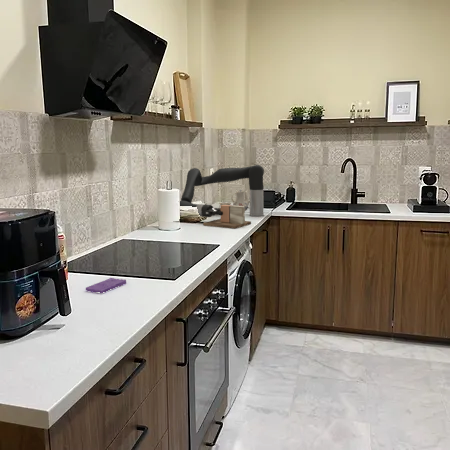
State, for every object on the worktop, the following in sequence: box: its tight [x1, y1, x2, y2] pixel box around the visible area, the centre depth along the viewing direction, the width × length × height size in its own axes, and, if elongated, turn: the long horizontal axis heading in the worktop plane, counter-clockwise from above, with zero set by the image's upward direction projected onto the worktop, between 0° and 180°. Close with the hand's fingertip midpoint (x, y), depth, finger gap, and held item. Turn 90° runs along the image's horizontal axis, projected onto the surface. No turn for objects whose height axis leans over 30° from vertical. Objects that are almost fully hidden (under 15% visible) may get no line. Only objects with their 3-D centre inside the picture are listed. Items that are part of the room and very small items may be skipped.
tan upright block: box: [220, 204, 233, 223], centre depth 273 cm, size 4×6×10 cm, turn 57°
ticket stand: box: [203, 204, 252, 230], centre depth 273 cm, size 18×22×12 cm
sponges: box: [85, 277, 127, 294], centre depth 157 cm, size 7×13×2 cm, turn 153°
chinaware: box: [218, 187, 250, 211], centre depth 334 cm, size 28×17×17 cm, turn 131°
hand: (226, 212), depth 272 cm, fingers open, 8 cm apart
